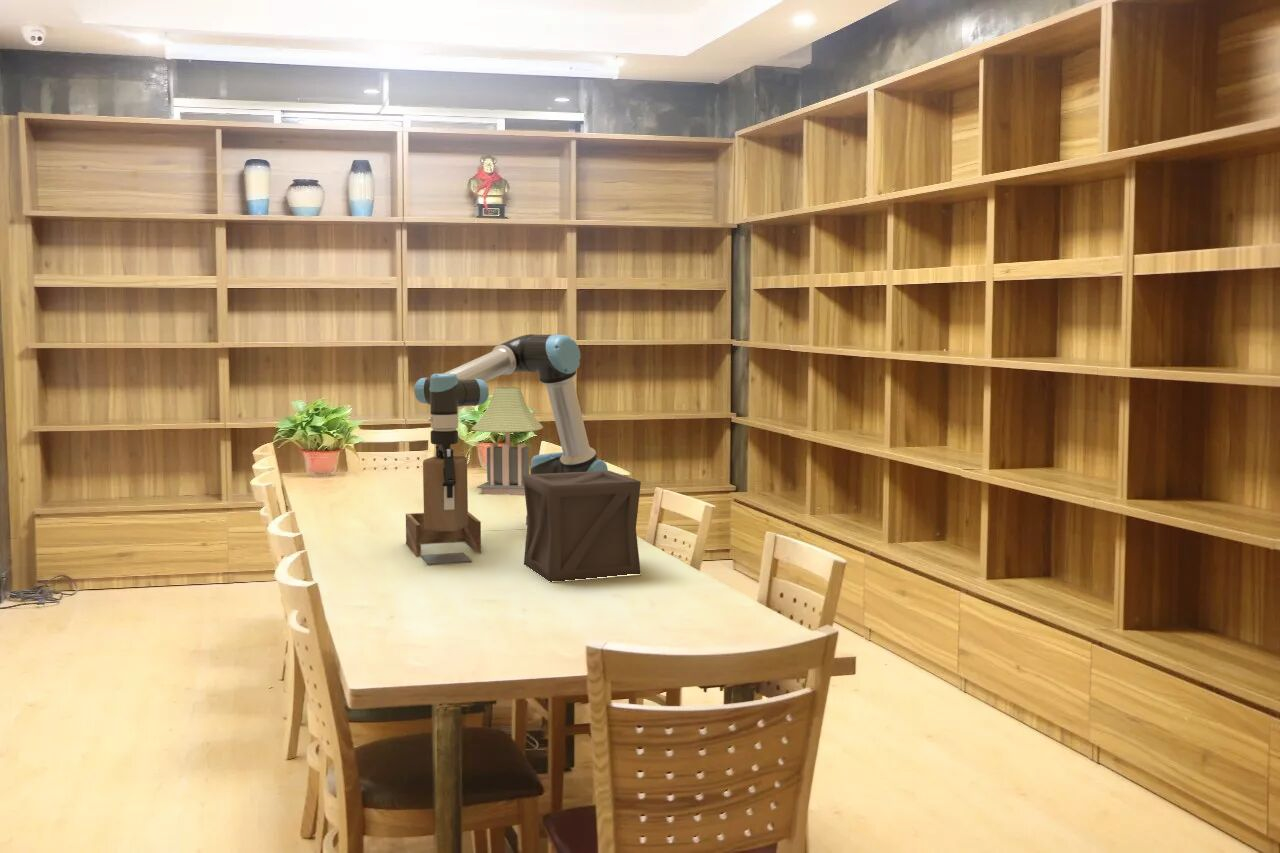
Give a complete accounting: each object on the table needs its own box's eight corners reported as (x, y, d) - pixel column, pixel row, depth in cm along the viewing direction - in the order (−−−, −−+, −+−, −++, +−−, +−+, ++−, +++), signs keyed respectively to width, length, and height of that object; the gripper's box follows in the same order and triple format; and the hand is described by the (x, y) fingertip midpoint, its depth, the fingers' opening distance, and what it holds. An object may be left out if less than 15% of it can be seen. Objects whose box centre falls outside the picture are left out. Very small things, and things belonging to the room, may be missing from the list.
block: (457, 532, 342) (456, 459, 340) (422, 531, 344) (421, 459, 342) (469, 526, 352) (468, 455, 350) (435, 525, 354) (434, 455, 352)
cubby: (467, 540, 379) (467, 510, 378) (481, 552, 359) (480, 521, 358) (406, 543, 373) (405, 513, 372) (416, 556, 353) (416, 525, 352)
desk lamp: (465, 496, 469) (463, 389, 466) (486, 486, 497) (485, 385, 493) (531, 498, 465) (530, 390, 461) (549, 487, 493) (548, 385, 489)
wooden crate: (609, 559, 351) (608, 470, 349) (641, 575, 328) (640, 479, 326) (523, 566, 342) (522, 474, 340) (550, 583, 319) (549, 484, 317)
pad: (463, 554, 356) (463, 552, 356) (471, 562, 345) (471, 560, 345) (421, 557, 352) (421, 554, 352) (427, 565, 341) (427, 563, 341)
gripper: (423, 426, 356) (424, 500, 358) (437, 433, 332) (438, 513, 334) (450, 425, 358) (451, 499, 360) (465, 433, 335) (466, 511, 337)
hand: (445, 506), depth 347 cm, fingers closed on block, 13 cm apart
